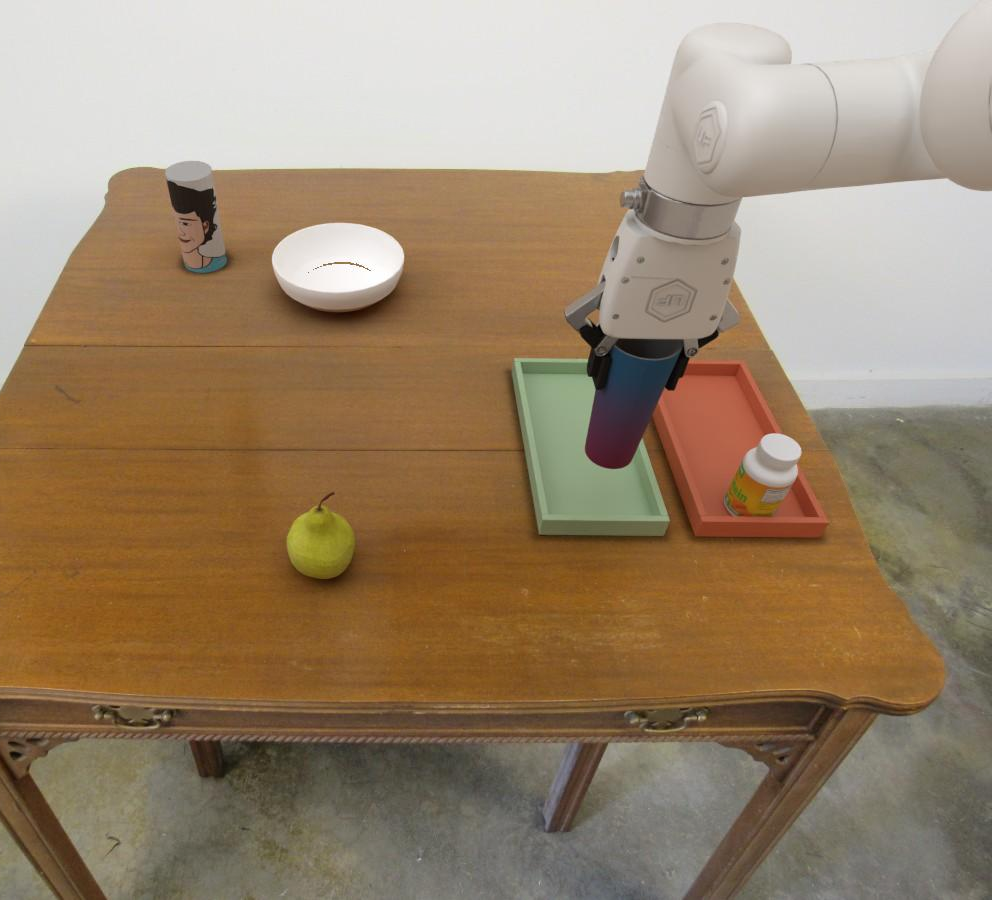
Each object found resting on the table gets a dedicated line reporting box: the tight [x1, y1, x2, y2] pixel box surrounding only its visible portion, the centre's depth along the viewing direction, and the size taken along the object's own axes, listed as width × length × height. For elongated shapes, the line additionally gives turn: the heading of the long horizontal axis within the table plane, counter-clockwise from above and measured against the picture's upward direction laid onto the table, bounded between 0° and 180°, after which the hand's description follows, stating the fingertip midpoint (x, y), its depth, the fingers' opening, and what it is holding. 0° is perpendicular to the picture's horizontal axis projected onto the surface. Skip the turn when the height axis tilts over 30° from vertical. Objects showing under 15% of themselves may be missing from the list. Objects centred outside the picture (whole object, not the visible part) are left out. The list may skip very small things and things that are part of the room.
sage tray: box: [511, 357, 671, 537], centre depth 89 cm, size 28×14×3 cm, turn 0°
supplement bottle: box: [724, 433, 803, 517], centre depth 79 cm, size 5×5×10 cm
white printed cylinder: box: [164, 160, 228, 274], centre depth 113 cm, size 7×7×15 cm
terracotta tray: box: [651, 359, 830, 539], centre depth 89 cm, size 28×14×3 cm, turn 0°
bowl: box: [271, 222, 405, 313], centre depth 111 cm, size 20×20×6 cm
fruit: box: [286, 491, 356, 580], centre depth 73 cm, size 7×7×12 cm
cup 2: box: [585, 338, 683, 469], centre depth 73 cm, size 7×7×15 cm
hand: (631, 379), depth 71 cm, fingers closed on cup 2, 6 cm apart
